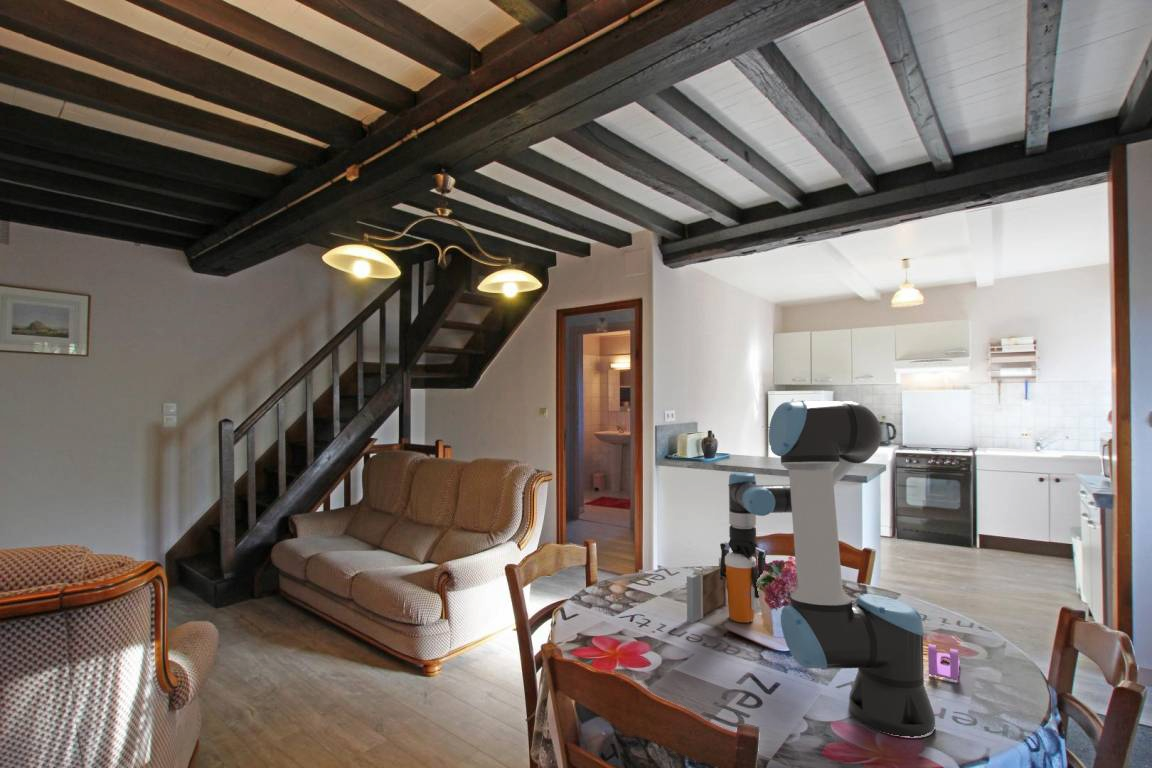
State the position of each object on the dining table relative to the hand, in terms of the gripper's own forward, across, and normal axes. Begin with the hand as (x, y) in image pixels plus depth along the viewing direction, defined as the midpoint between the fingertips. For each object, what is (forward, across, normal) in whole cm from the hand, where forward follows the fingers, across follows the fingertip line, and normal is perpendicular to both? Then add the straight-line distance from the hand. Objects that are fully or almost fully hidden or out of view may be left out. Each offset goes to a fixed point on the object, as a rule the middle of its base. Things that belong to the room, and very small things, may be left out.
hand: (743, 605), depth 159 cm
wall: (+4, +11, 0) cm, 11 cm away
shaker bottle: (+4, +1, 0) cm, 4 cm away
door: (+4, +10, 0) cm, 11 cm away
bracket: (+5, -48, -7) cm, 49 cm away
